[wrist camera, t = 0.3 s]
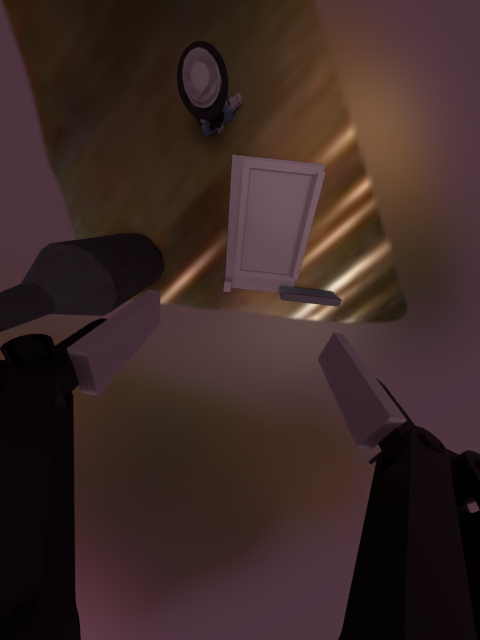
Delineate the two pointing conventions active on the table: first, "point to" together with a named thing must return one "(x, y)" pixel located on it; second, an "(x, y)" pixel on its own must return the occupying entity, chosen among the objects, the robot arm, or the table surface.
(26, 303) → the bottle
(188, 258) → the table surface
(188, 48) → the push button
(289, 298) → the dark slender plank
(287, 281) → the tray
